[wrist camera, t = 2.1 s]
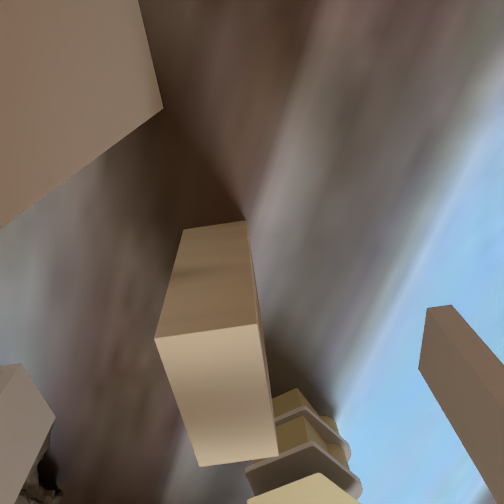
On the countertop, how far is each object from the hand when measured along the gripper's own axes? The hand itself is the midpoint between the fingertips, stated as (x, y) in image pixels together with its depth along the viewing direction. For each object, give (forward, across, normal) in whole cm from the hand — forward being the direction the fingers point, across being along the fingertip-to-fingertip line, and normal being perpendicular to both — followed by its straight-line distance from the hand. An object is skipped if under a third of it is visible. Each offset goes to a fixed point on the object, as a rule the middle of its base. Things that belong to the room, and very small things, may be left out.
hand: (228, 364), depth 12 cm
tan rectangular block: (+6, 0, 0) cm, 6 cm away
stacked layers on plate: (+6, -2, +12) cm, 14 cm away
